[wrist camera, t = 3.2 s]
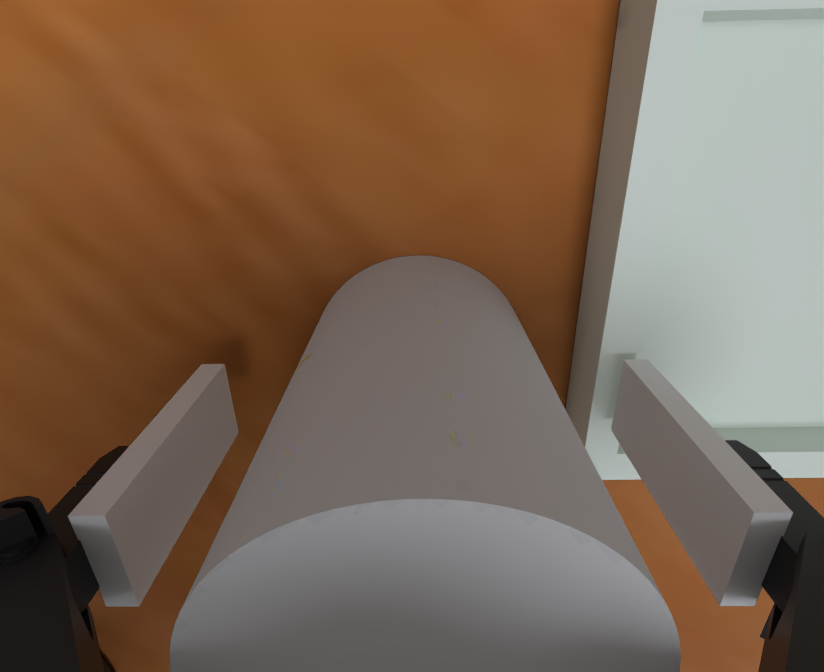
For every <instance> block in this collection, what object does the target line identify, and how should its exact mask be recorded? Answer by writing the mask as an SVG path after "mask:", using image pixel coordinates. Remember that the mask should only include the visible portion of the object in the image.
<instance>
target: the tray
mask: <svg viewBox="0 0 824 672" xmlns="http://www.w3.org/2000/svg"><path fill="white" fill-rule="evenodd" d="M629 359H648V360H649V361H650V362H651V363H652V364H653V366H654V367H655V368H656V369H657V370H658V371H659V372H660V373H661V374H662V375H663V376H664V377H665V378H666V379H667V380H668V381H669V382H670V383H671V384H672V386H673V387H674V388H675V389H676V390H677V391H678V392H679V393H680V394H681V395H682V396H683V397H684V398H685V399H686V400H687V401H688V402H689V403H690V404H691V406H692V407H693V408H694V409H695V410H696V411H697V412H698V413H699V414H700V415H701V416H702V417H703V418H704V419H705V420H706V421H707V422H708V423H709V424H710V425H711V427H712V428H713V429H714V430H715V431H716V432H717V433H718V434H719V435H720V436H721V437H722V438H723V439H724V440H738V441H739V442H741V443H743V444H744V445H746V446H747V447H749V448H751V449H752V450H754V451H756V452H757V453H758V454H759V455H760V456H761V457H762V458H763V459H764V460H765V461H766V462H767V463H769V464H770V465H771V466H772V467H771V468H772V469H775V470H776V471H777V472H778V473H779V474H780V475H781V476H782V477H783V478H824V0H621V1H620V8H619V16H618V23H617V31H616V38H615V45H614V53H613V60H612V68H611V75H610V82H609V90H608V97H607V105H606V112H605V119H604V127H603V134H602V142H601V149H600V156H599V164H598V171H597V179H596V186H595V193H594V201H593V208H592V216H591V223H590V231H589V238H588V245H587V253H586V260H585V268H584V275H583V282H582V290H581V297H580V305H579V312H578V319H577V327H576V334H575V342H574V349H573V356H572V364H571V371H570V379H569V386H568V393H567V401H566V408H565V410H566V412H567V414H568V416H569V418H570V419H571V421H572V423H573V425H574V427H575V429H576V431H577V433H578V435H579V437H580V439H581V441H582V443H583V445H584V446H585V448H586V450H587V452H588V454H589V456H590V458H591V460H592V462H593V464H594V466H595V468H596V470H597V472H598V473H599V475H600V477H601V479H602V480H632V479H641V478H640V476H639V474H638V473H637V471H636V469H635V468H634V466H633V465H632V463H631V461H630V460H629V458H628V457H627V455H626V453H625V452H624V450H623V448H622V447H621V445H620V444H619V442H618V440H617V439H616V437H615V436H614V434H613V432H612V431H611V426H612V421H613V415H614V410H615V404H616V399H617V394H618V388H619V383H620V378H621V372H622V367H623V362H624V360H629Z"/></svg>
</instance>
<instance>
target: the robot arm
mask: <svg viewBox="0 0 824 672" xmlns="http://www.w3.org/2000/svg"><path fill="white" fill-rule="evenodd" d="M611 431H612V432H613V434H614V436H615V437H616V439H617V440H618V442H619V444H620V445H621V447H622V448H623V450H624V452H625V453H626V455H627V457H628V458H629V460H630V461H631V463H632V465H633V466H634V468H635V469H636V471H637V473H638V474H639V476H640V478H641V479H642V481H643V482H644V484H645V486H646V487H647V489H648V491H649V492H650V494H651V495H652V497H653V499H654V500H655V502H656V503H657V505H658V507H659V508H660V510H661V512H662V513H663V515H664V516H665V518H666V520H667V521H668V523H669V525H670V526H671V528H672V529H673V531H674V533H675V534H676V536H677V537H678V539H679V541H680V542H681V544H682V546H683V547H684V549H685V550H686V552H687V554H688V555H689V557H690V558H691V560H692V562H693V563H694V565H695V567H696V568H697V570H698V571H699V573H700V575H701V576H702V578H703V580H704V581H705V583H706V584H707V586H708V588H709V589H710V591H711V592H712V594H713V596H714V597H715V599H716V601H717V602H718V604H719V605H720V606H755V604H756V601H757V599H758V596H759V594H760V592H761V589H762V587H763V588H764V589H765V590H766V592H767V593H768V594H769V596H770V597H771V599H772V600H773V601H774V606H773V608H772V610H771V612H770V615H769V617H768V619H767V622H766V624H765V626H764V628H763V631H762V633H761V635H760V637H762V638H764V639H765V641H764V646H763V651H762V656H761V661H760V666H759V671H758V672H824V518H823V517H822V516H821V515H820V514H819V513H818V512H817V511H816V510H815V509H814V508H813V507H812V506H811V505H810V504H809V503H808V502H807V501H806V500H805V499H804V498H803V497H802V496H801V495H800V494H799V493H798V492H797V491H796V490H795V489H794V488H793V487H792V486H791V485H790V484H789V483H788V482H787V481H784V480H783V477H782V476H781V475H780V474H779V473H778V472H777V471H776V470H775V469H772V468H771V467H772V466H771V465H770V464H769V463H767V462H766V461H765V460H764V459H763V458H762V457H761V456H760V455H759V454H758V453H757V452H756V451H754V450H752V449H751V448H749V447H747V446H746V445H744V444H743V443H741V442H739V441H738V440H724V439H723V438H722V437H721V436H720V435H719V434H718V433H717V432H716V431H715V430H714V429H713V428H712V427H711V425H710V424H709V423H708V422H707V421H706V420H705V419H704V418H703V417H702V416H701V415H700V414H699V413H698V412H697V411H696V410H695V409H694V408H693V407H692V406H691V404H690V403H689V402H688V401H687V400H686V399H685V398H684V397H683V396H682V395H681V394H680V393H679V392H678V391H677V390H676V389H675V388H674V387H673V386H672V384H671V383H670V382H669V381H668V380H667V379H666V378H665V377H664V376H663V375H662V374H661V373H660V372H659V371H658V370H657V369H656V368H655V367H654V366H653V364H652V363H651V362H650V361H649V360H648V359H629V360H624V362H623V367H622V372H621V378H620V383H619V388H618V394H617V399H616V404H615V410H614V415H613V421H612V426H611ZM238 433H239V431H238V427H237V422H236V417H235V412H234V407H233V402H232V397H231V393H230V388H229V383H228V378H227V373H226V368H225V364H201V365H200V367H199V368H198V369H197V370H196V371H195V372H194V373H193V375H192V376H191V377H190V378H189V379H188V380H187V381H186V383H185V384H184V385H183V386H182V387H181V388H180V389H179V390H178V392H177V393H176V394H175V395H174V396H173V397H172V398H171V400H170V401H169V402H168V403H167V404H166V405H165V406H164V407H163V409H162V410H161V411H160V412H159V413H158V414H157V415H156V417H155V418H154V419H153V420H152V421H151V422H150V423H149V424H148V426H147V427H146V428H145V429H144V430H143V431H142V432H141V434H140V435H139V436H138V437H137V438H136V439H135V440H134V441H133V443H132V444H131V445H130V446H118V447H117V448H115V449H114V450H112V451H111V452H109V453H107V454H106V455H104V456H103V457H101V458H100V459H99V460H98V461H97V462H96V463H95V464H94V465H93V466H92V467H91V469H90V470H89V471H88V472H87V475H84V476H83V477H82V478H81V479H80V480H79V481H78V482H77V483H76V487H73V488H72V489H71V490H70V491H69V492H68V493H67V494H66V495H65V496H64V497H63V498H62V499H61V501H60V502H59V503H58V504H57V505H56V506H55V507H54V508H53V509H52V510H51V511H50V512H49V513H48V514H47V513H46V510H45V508H44V506H43V504H42V502H41V501H40V500H39V498H35V497H31V496H24V497H15V498H12V499H8V500H5V501H2V502H0V672H112V671H111V670H110V668H109V666H108V665H107V664H106V662H105V661H104V660H103V659H102V657H101V653H100V648H99V644H98V639H97V635H96V631H95V626H94V622H93V617H92V614H91V611H90V609H89V607H88V604H89V602H90V601H91V599H92V598H93V597H94V595H95V594H96V592H97V591H98V589H99V591H100V593H101V596H102V598H103V600H104V603H105V605H106V607H139V606H140V604H141V602H142V601H143V599H144V597H145V595H146V594H147V592H148V590H149V588H150V587H151V585H152V583H153V581H154V580H155V578H156V576H157V575H158V573H159V571H160V569H161V568H162V566H163V564H164V562H165V561H166V559H167V557H168V555H169V554H170V552H171V550H172V548H173V547H174V545H175V543H176V541H177V540H178V538H179V536H180V534H181V533H182V531H183V529H184V527H185V526H186V524H187V522H188V520H189V519H190V517H191V515H192V513H193V512H194V510H195V508H196V506H197V505H198V503H199V501H200V499H201V498H202V496H203V494H204V492H205V491H206V489H207V487H208V485H209V484H210V482H211V480H212V478H213V477H214V475H215V473H216V471H217V470H218V468H219V466H220V464H221V463H222V461H223V459H224V457H225V456H226V454H227V452H228V450H229V449H230V447H231V445H232V443H233V442H234V440H235V438H236V436H237V435H238Z"/></svg>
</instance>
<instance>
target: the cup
mask: <svg viewBox="0 0 824 672" xmlns="http://www.w3.org/2000/svg"><path fill="white" fill-rule="evenodd" d="M680 660H681V655H680V643H679V637H678V632H677V629H676V626H675V623H674V620H673V617H672V615H671V613H670V611H669V609H668V607H667V605H666V603H665V601H664V599H663V597H662V595H661V593H660V591H659V589H658V587H657V585H656V583H655V582H654V580H653V578H652V576H651V574H650V572H649V570H648V568H647V566H646V564H645V562H644V560H643V558H642V556H641V555H640V553H639V551H638V549H637V547H636V545H635V543H634V541H633V539H632V537H631V535H630V533H629V531H628V529H627V528H626V526H625V524H624V522H623V520H622V518H621V516H620V514H619V512H618V510H617V508H616V506H615V504H614V502H613V500H612V499H611V497H610V495H609V493H608V491H607V489H606V487H605V485H604V483H603V481H602V479H601V477H600V475H599V473H598V472H597V470H596V468H595V466H594V464H593V462H592V460H591V458H590V456H589V454H588V452H587V450H586V448H585V446H584V445H583V443H582V441H581V439H580V437H579V435H578V433H577V431H576V429H575V427H574V425H573V423H572V421H571V419H570V418H569V416H568V414H567V412H566V410H565V408H564V406H563V404H562V402H561V400H560V398H559V396H558V394H557V392H556V391H555V389H554V387H553V385H552V383H551V381H550V379H549V377H548V375H547V373H546V371H545V369H544V367H543V365H542V364H541V362H540V360H539V358H538V356H537V354H536V352H535V350H534V348H533V346H532V344H531V342H530V340H529V338H528V337H527V335H526V333H525V331H524V329H523V327H522V325H521V323H520V321H519V319H518V317H517V315H516V313H515V311H514V310H513V308H512V306H511V304H510V303H509V301H508V300H507V298H506V297H505V295H504V294H503V293H502V292H501V291H500V289H499V288H498V287H497V286H496V285H495V284H494V283H492V282H491V281H490V280H489V279H488V278H486V277H485V276H484V275H482V274H481V273H479V272H478V271H476V270H474V269H472V268H470V267H468V266H466V265H464V264H461V263H459V262H456V261H453V260H450V259H446V258H441V257H435V256H423V255H416V256H403V257H397V258H393V259H389V260H385V261H382V262H379V263H377V264H374V265H372V266H370V267H368V268H366V269H364V270H362V271H361V272H359V273H358V274H356V275H355V276H353V277H352V278H351V279H349V280H348V281H347V282H346V283H345V284H344V285H343V286H342V287H341V288H340V289H339V290H338V291H337V292H336V293H335V294H334V296H333V297H332V298H331V300H330V301H329V303H328V304H327V306H326V308H325V310H324V312H323V314H322V316H321V318H320V320H319V322H318V324H317V326H316V328H315V330H314V333H313V335H312V337H311V339H310V341H309V343H308V345H307V347H306V349H305V351H304V353H303V356H302V358H301V360H300V362H299V364H298V366H297V368H296V370H295V372H294V374H293V376H292V379H291V381H290V383H289V385H288V387H287V389H286V391H285V393H284V395H283V397H282V399H281V402H280V404H279V406H278V408H277V410H276V412H275V414H274V416H273V418H272V420H271V422H270V425H269V427H268V429H267V431H266V433H265V435H264V437H263V439H262V441H261V443H260V445H259V448H258V450H257V452H256V454H255V456H254V458H253V460H252V462H251V464H250V466H249V468H248V471H247V473H246V475H245V477H244V479H243V481H242V483H241V485H240V487H239V489H238V491H237V494H236V496H235V498H234V500H233V502H232V504H231V506H230V508H229V510H228V512H227V514H226V517H225V519H224V521H223V523H222V525H221V527H220V529H219V531H218V533H217V535H216V537H215V540H214V542H213V544H212V546H211V548H210V550H209V552H208V554H207V556H206V558H205V560H204V563H203V565H202V567H201V569H200V571H199V573H198V575H197V577H196V579H195V581H194V583H193V586H192V588H191V590H190V592H189V594H188V596H187V598H186V600H185V602H184V604H183V606H182V609H181V611H180V613H179V615H178V618H177V620H176V623H175V626H174V629H173V633H172V637H171V644H170V670H171V672H679V671H680Z"/></svg>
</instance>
